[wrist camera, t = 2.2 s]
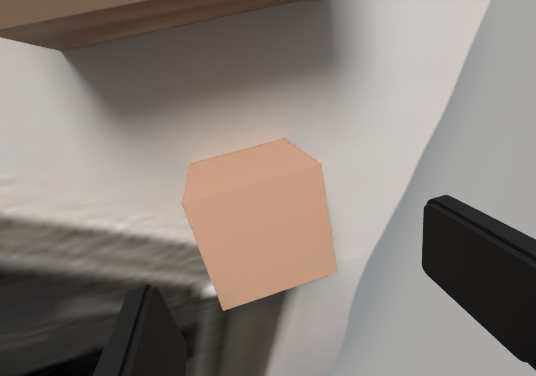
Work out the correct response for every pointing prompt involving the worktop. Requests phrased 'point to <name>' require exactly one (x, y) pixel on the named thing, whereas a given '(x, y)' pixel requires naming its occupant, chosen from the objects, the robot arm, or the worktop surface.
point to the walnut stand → (107, 18)
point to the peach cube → (260, 220)
